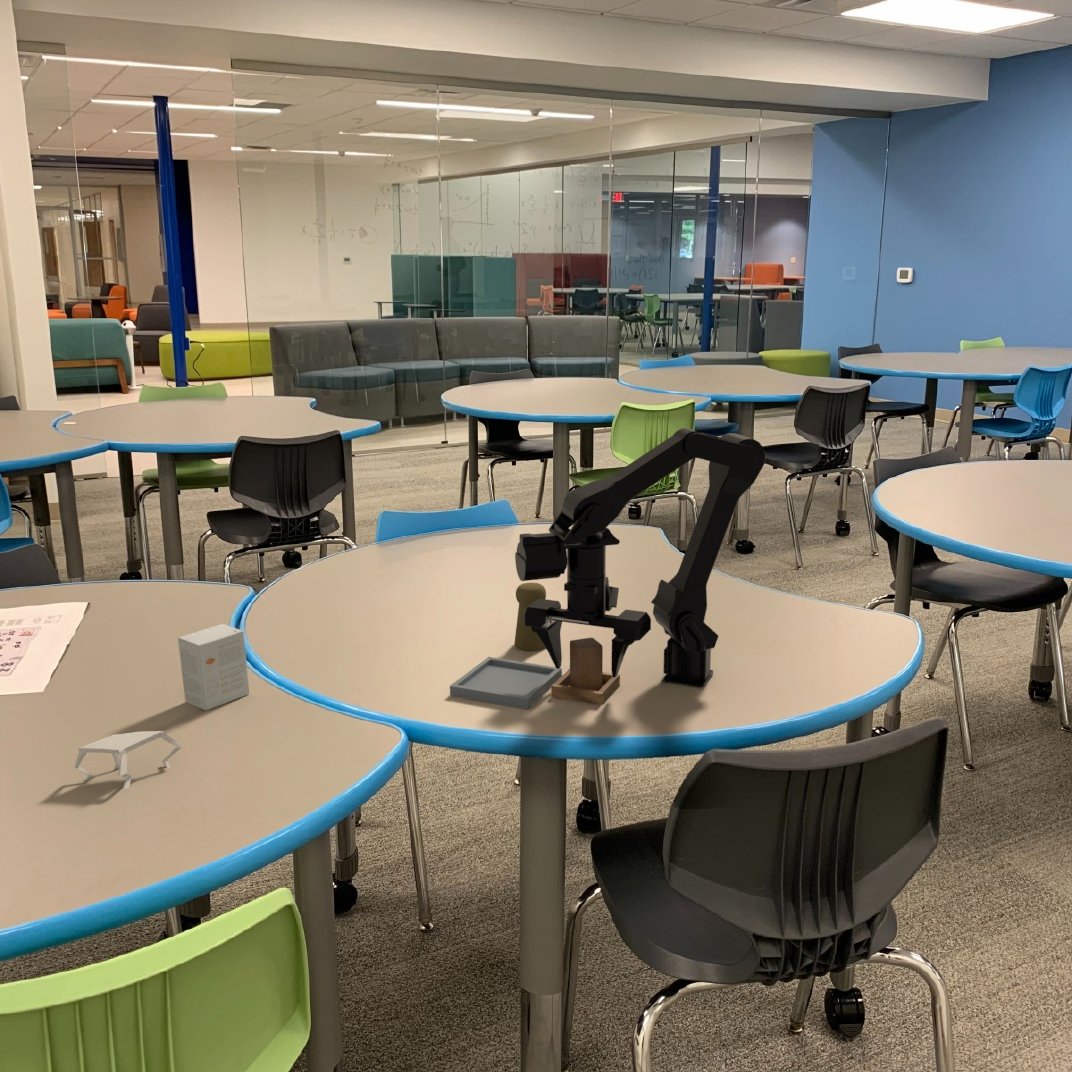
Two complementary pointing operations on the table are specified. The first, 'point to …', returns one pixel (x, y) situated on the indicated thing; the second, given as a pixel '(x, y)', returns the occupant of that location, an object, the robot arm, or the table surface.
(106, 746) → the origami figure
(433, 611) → the table surface
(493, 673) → the slate tray
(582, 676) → the wooden block
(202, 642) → the small box
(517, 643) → the olive pawn piece
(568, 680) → the walnut collar
